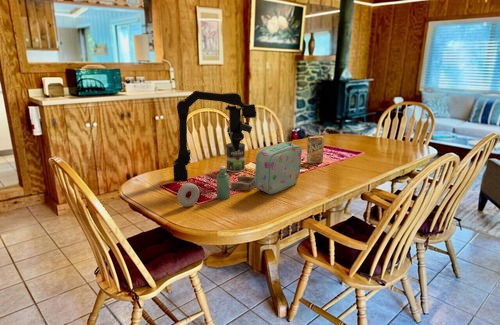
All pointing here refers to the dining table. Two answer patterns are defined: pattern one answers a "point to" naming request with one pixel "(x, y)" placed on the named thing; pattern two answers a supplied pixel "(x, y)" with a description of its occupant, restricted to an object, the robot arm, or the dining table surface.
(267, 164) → the lunch box
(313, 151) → the candy box
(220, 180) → the bottle
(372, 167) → the dining table surface
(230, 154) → the coffee can
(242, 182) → the rest
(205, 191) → the dining table surface
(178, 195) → the donut
